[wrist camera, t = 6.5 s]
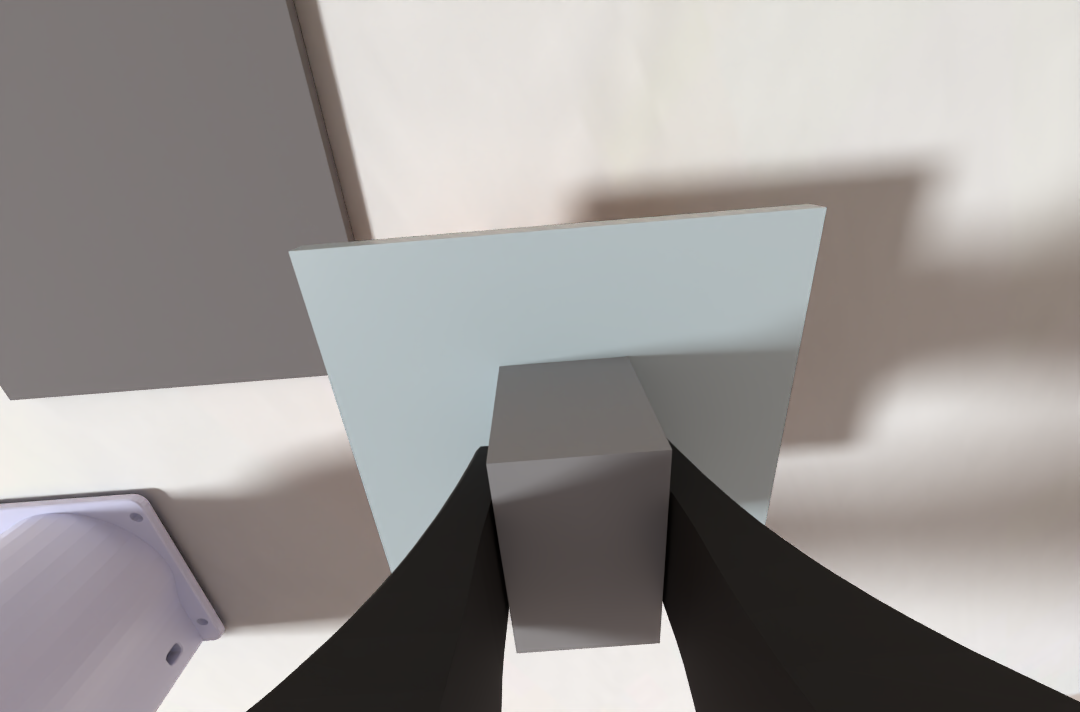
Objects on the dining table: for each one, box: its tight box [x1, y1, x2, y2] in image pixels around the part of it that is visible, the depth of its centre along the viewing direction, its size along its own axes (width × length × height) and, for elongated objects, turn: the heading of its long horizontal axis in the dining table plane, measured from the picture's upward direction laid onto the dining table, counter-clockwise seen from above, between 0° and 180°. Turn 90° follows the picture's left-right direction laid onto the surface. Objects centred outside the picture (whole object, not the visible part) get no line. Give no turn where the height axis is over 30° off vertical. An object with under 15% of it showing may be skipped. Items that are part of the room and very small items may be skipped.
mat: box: [0, 0, 354, 400], centre depth 14 cm, size 14×14×1 cm
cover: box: [288, 204, 827, 653], centre depth 10 cm, size 11×11×4 cm
